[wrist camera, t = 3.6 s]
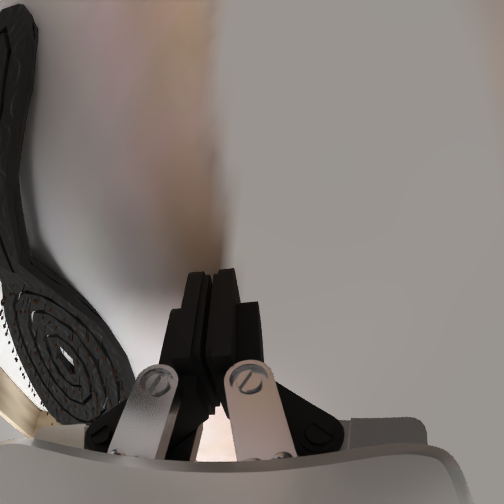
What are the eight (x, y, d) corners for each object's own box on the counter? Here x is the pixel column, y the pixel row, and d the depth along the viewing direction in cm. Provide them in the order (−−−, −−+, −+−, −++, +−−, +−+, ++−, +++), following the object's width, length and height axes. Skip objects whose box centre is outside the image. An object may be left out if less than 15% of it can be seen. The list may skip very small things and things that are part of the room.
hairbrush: (77, -40, 4) (142, 463, 16) (123, -10, 7) (149, 421, 19) (-81, 38, 3) (39, 435, 15) (-27, 35, 6) (53, 399, 19)
